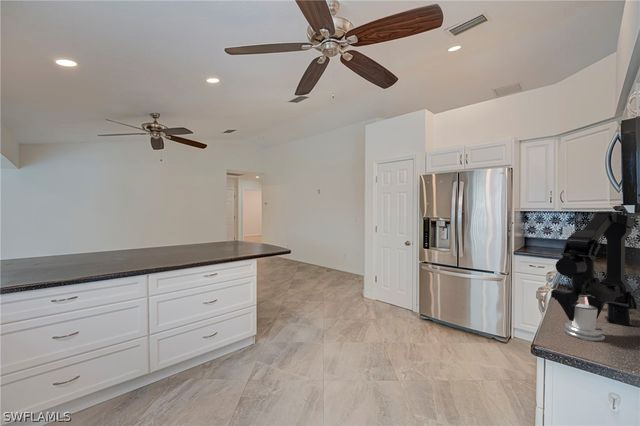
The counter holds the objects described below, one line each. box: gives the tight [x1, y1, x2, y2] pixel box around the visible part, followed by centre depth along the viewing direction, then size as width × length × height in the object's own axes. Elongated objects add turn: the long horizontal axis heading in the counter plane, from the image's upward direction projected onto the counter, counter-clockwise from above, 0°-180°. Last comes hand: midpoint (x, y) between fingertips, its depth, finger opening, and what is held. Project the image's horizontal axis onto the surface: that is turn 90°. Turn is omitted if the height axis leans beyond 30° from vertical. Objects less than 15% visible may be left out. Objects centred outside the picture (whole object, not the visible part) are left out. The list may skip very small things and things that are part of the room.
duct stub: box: [563, 321, 606, 343], centre depth 93 cm, size 10×10×3 cm
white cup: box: [571, 302, 598, 330], centre depth 93 cm, size 7×7×7 cm
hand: (583, 319), depth 93 cm, fingers open, 9 cm apart
